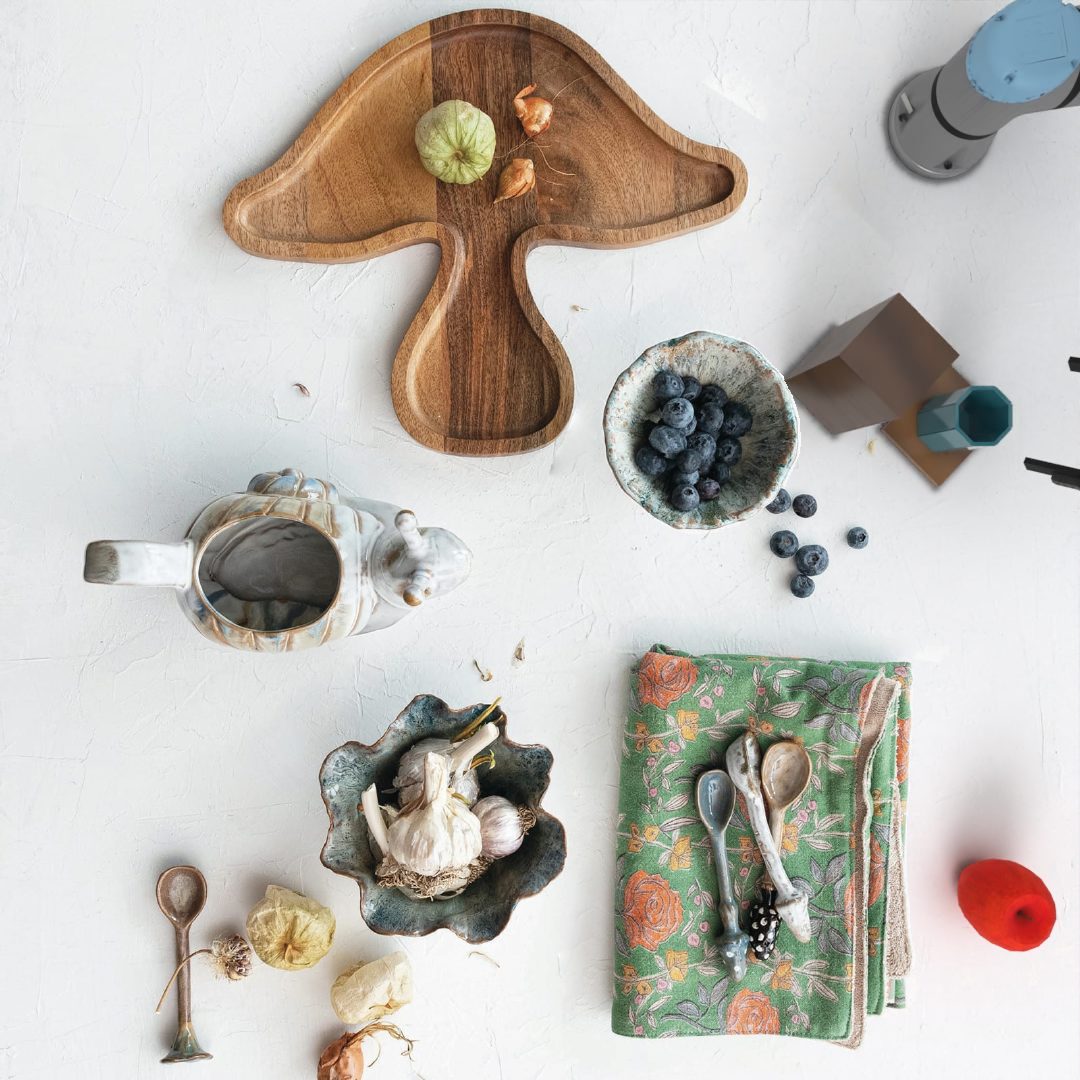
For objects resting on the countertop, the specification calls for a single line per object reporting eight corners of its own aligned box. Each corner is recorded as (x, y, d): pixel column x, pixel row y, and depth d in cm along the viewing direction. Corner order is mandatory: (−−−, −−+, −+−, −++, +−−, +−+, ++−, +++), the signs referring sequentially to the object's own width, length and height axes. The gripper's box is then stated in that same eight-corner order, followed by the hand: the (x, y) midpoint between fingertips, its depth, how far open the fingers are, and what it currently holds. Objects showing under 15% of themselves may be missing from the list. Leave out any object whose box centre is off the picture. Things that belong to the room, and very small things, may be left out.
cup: (943, 385, 125) (983, 373, 115) (981, 424, 125) (1024, 415, 115) (905, 425, 125) (942, 416, 115) (943, 464, 125) (984, 458, 115)
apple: (1019, 910, 128) (1081, 955, 115) (945, 929, 127) (1000, 976, 114) (1004, 834, 128) (1065, 870, 114) (930, 853, 127) (983, 891, 114)
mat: (943, 362, 126) (947, 361, 125) (999, 419, 127) (1003, 418, 126) (879, 430, 125) (883, 429, 124) (935, 487, 126) (939, 486, 125)
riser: (832, 329, 125) (899, 291, 105) (884, 382, 125) (960, 355, 105) (781, 382, 124) (838, 355, 104) (833, 435, 125) (900, 418, 105)
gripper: (1214, 568, 94) (1012, 513, 108) (1304, 363, 95) (1091, 335, 108) (1215, 550, 89) (1002, 495, 103) (1310, 333, 89) (1085, 307, 103)
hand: (1047, 413), depth 106 cm, fingers open, 13 cm apart
